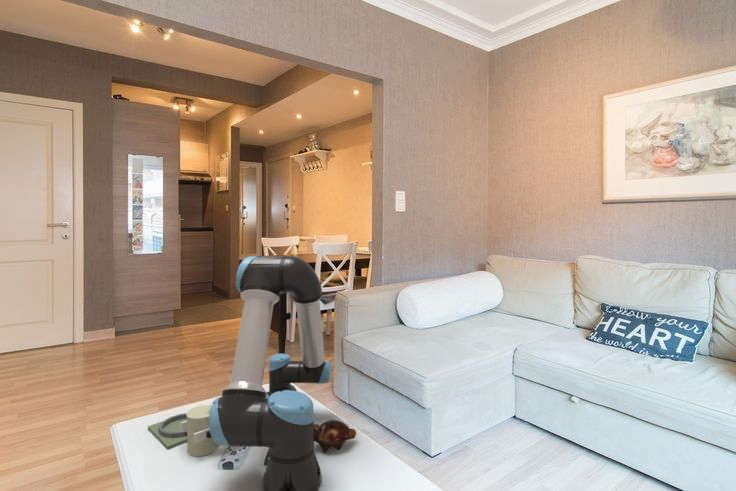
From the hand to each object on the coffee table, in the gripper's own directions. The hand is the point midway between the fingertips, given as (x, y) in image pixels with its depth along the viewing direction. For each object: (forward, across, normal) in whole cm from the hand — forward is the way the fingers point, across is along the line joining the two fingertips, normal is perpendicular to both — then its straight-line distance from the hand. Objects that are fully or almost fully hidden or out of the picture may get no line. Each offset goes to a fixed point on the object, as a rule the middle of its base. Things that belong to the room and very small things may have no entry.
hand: (187, 432), depth 120 cm
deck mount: (-5, +16, -6) cm, 18 cm away
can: (-5, 0, -7) cm, 8 cm away
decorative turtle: (-33, -28, -7) cm, 43 cm away
